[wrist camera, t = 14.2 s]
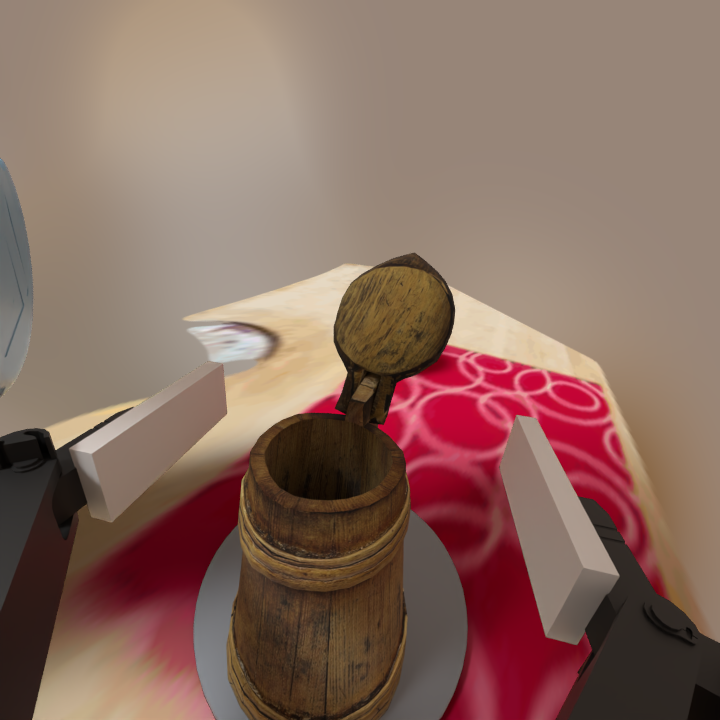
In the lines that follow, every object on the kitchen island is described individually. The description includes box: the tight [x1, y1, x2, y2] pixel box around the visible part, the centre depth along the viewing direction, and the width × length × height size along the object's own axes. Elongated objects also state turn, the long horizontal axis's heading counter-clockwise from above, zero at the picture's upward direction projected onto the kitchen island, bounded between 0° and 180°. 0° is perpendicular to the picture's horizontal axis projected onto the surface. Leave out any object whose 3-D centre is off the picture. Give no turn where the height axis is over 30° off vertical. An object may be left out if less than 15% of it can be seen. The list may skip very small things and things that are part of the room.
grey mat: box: [194, 510, 468, 720], centre depth 20 cm, size 15×15×1 cm
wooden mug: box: [226, 253, 455, 720], centre depth 16 cm, size 9×14×18 cm, turn 157°
